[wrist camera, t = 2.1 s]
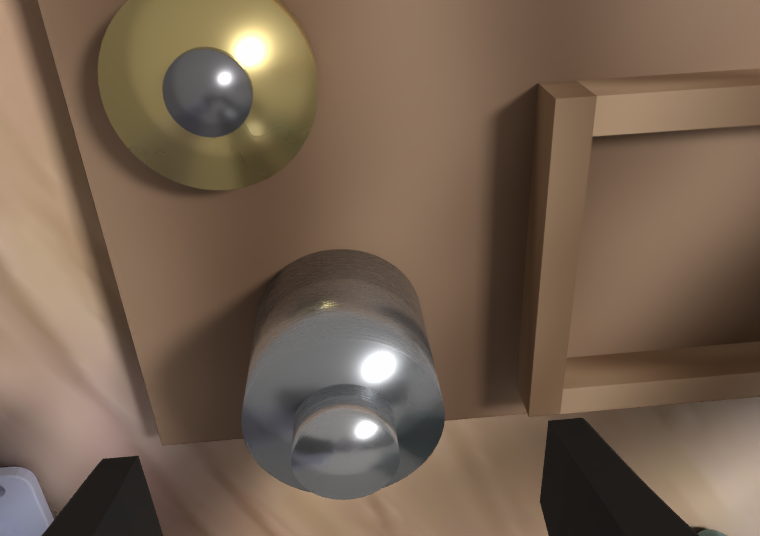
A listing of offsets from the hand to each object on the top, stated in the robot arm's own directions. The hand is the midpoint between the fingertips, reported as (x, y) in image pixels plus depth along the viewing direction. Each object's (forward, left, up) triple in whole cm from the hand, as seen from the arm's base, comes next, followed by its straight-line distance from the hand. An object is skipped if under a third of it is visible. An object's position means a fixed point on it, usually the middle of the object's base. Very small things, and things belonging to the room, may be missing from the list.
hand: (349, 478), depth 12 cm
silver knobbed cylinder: (0, 0, -5) cm, 5 cm away
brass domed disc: (-2, +6, -5) cm, 8 cm away
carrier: (+4, +2, -6) cm, 8 cm away
